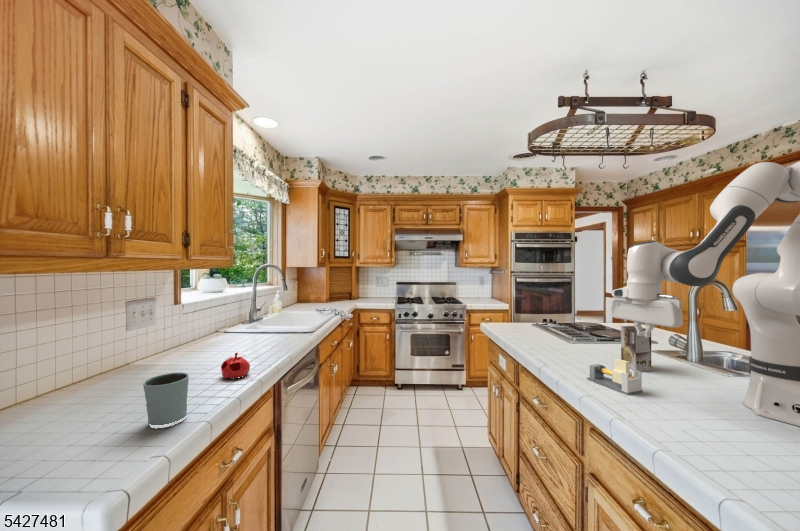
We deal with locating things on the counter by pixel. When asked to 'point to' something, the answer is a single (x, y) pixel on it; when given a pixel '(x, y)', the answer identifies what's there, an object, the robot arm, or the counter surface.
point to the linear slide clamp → (627, 386)
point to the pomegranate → (235, 367)
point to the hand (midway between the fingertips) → (643, 336)
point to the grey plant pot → (166, 398)
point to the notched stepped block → (620, 370)
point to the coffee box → (635, 349)
